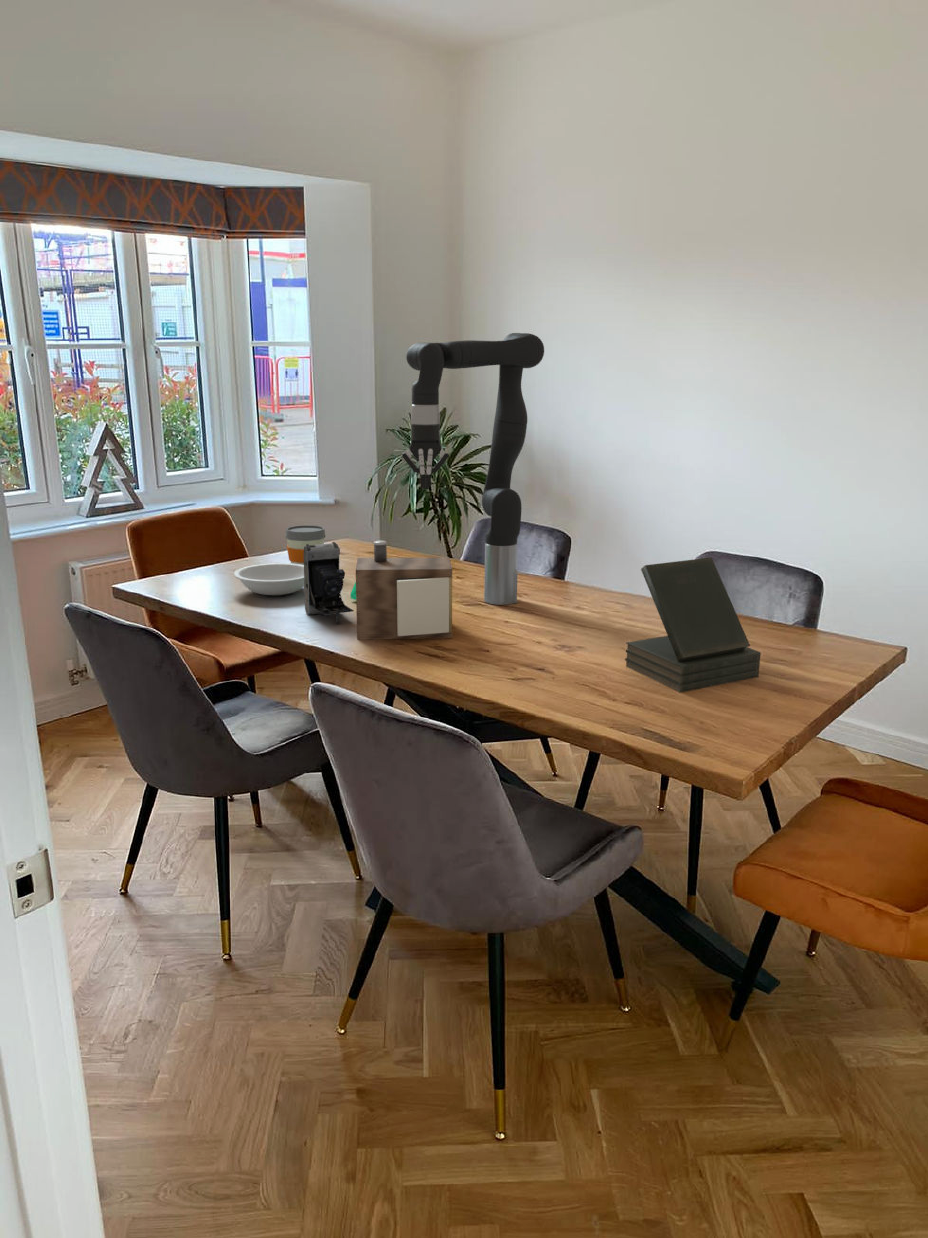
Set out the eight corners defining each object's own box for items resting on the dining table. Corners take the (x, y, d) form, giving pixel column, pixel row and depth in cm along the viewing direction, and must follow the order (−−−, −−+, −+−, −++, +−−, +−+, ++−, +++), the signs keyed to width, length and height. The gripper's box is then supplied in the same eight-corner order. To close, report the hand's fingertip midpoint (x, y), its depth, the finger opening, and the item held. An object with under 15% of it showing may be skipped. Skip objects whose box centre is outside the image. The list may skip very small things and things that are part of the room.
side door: (451, 630, 244) (451, 577, 240) (452, 632, 243) (452, 578, 239) (397, 634, 240) (396, 580, 236) (398, 636, 239) (397, 581, 235)
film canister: (387, 559, 250) (386, 540, 249) (387, 562, 247) (386, 543, 245) (374, 559, 250) (373, 540, 248) (373, 562, 246) (373, 543, 245)
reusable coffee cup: (323, 579, 305) (321, 532, 301) (283, 578, 305) (281, 532, 301) (329, 570, 317) (327, 525, 313) (291, 569, 317) (289, 524, 313)
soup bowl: (309, 604, 276) (308, 581, 274) (225, 603, 276) (224, 580, 274) (322, 584, 299) (321, 563, 297) (245, 583, 299) (244, 562, 297)
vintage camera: (321, 629, 253) (321, 555, 247) (303, 612, 266) (302, 542, 260) (356, 625, 258) (357, 552, 252) (336, 609, 271) (336, 540, 265)
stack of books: (679, 694, 208) (687, 581, 201) (624, 667, 224) (630, 563, 218) (758, 678, 218) (769, 570, 211) (700, 654, 235) (708, 554, 228)
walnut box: (449, 622, 258) (449, 557, 253) (451, 638, 245) (452, 569, 240) (359, 623, 257) (357, 557, 252) (357, 639, 243) (355, 569, 238)
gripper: (449, 421, 255) (449, 486, 260) (399, 420, 254) (400, 486, 259) (451, 423, 248) (451, 490, 253) (400, 423, 247) (400, 490, 252)
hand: (425, 488), depth 256 cm, fingers closed
